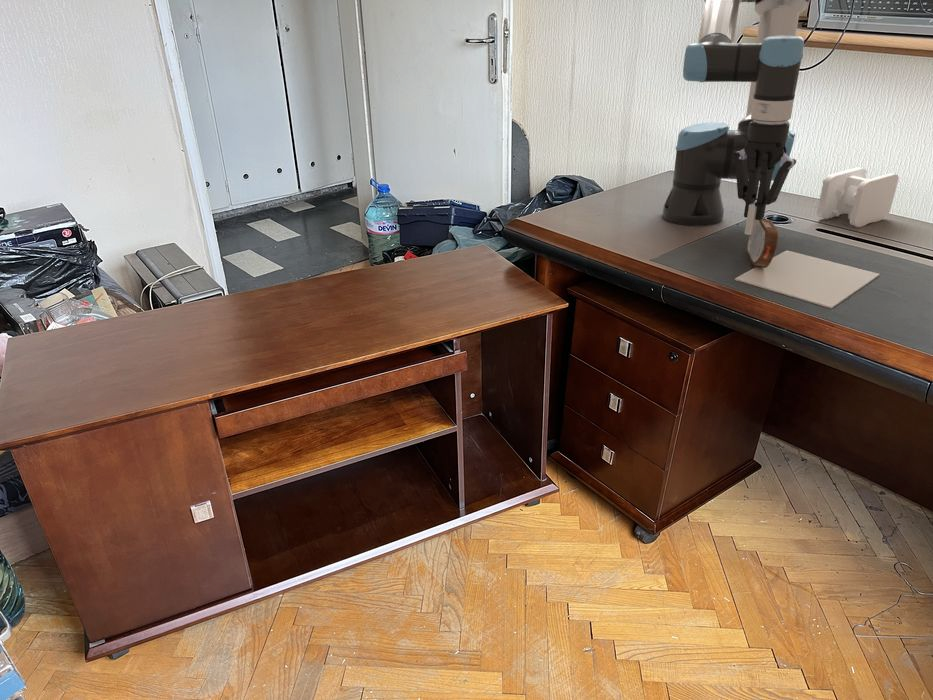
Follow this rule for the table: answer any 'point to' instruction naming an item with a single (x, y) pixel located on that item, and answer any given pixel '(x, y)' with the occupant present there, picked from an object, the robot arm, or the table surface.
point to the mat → (808, 278)
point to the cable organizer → (857, 196)
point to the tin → (763, 244)
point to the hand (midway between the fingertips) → (750, 232)
